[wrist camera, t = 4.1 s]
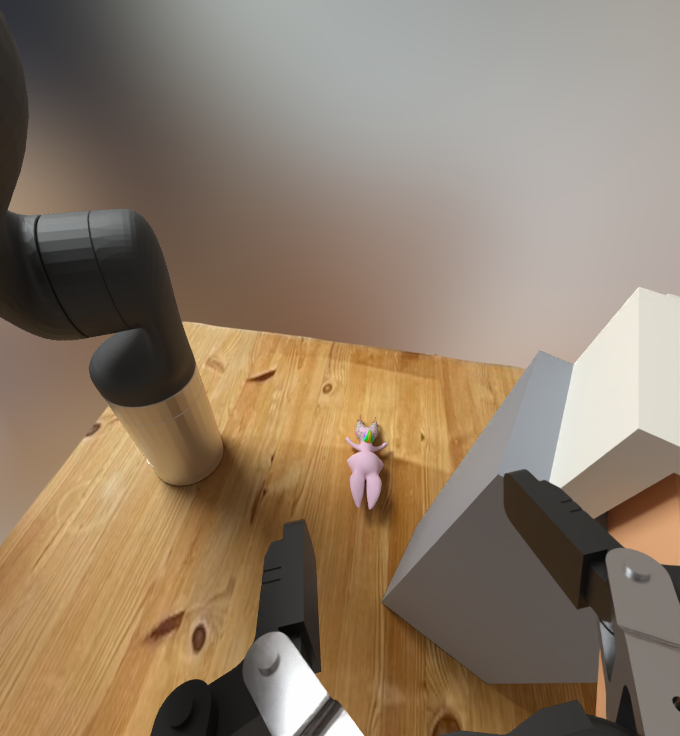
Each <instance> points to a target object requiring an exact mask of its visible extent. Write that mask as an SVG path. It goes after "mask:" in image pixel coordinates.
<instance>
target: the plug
mask: <svg viewBox="0 0 680 736" xmlns="http://www.w3.org/2000/svg"><path fill="white" fill-rule="evenodd" d="M666 296H670V297H673V298H676V299H679V300H680V297H679V296H676V295H672V294H667V295H666ZM607 532H608V533H609V534H610V535H611V536H612V537H613V538H615V539H616V540H617V541H618V542H619V543H620V544H621V545H622V546H623V547H624V548H628V549H633V550H637V551H639V552H642V553H644V554H646V555H648V556H650V557H652V558H653V559H655V560H656V561H657V562H659V563H660V564H664V565H676V566H680V475H678V474H676V473H672V474H670V475H669V476H667V477H665V478H664V479H662V480H660V481H658V482H657V483H655V484H653V485H651V486H650V487H648V488H646V489H645V490H643V491H641V492H639V493H638V494H636V495H634V496H632V497H631V498H629V499H627V500H625V501H624V502H622V503H620V504H619V505H617V506H615V507H613V508H612V509H610V510H608V520H607ZM596 716H597V717H601V718H604V719H606V690H605V681H604V674H603V666H602V659H601V651H600V653H599V669H598V686H597V702H596Z"/></svg>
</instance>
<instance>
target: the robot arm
mask: <svg viewBox="0 0 680 736" xmlns="http://www.w3.org/2000/svg"><path fill="white" fill-rule="evenodd" d="M28 118H29V112H28V97H27V90H26V83H25V76H24V71H23V67H22V61H21V58H20V55H19V52H18V49H17V46H16V44H15V41H14V39H13V36H12V34H11V31H10V29H9V27H8V24H7V22H6V20H5V18H4V15H3V14H2V12H1V10H0V317H1V318H3V319H5V320H6V321H8V322H10V323H12V324H13V325H15V326H17V327H19V328H21V329H23V330H25V331H27V332H29V333H31V334H34V335H37V336H39V337H42V338H46V339H51V340H78V339H84V338H89V337H95V336H101V335H106V334H112V333H116V334H115V335H113V336H112V337H110V338H109V339H107V340H106V341H105V342H104V343H102V344H101V345H100V346H99V348H98V349H97V350H96V351H95V353H94V354H93V356H92V358H91V361H90V364H89V372H90V377H91V380H92V382H93V383H94V385H95V387H96V388H97V390H98V391H99V392H100V394H101V395H102V396H103V398H104V399H105V401H106V402H107V404H108V405H109V407H110V408H111V409H112V411H113V412H114V414H115V415H116V416H117V418H118V419H119V421H120V422H121V423H122V425H123V426H124V428H125V429H126V431H127V432H128V434H129V435H130V436H131V438H132V439H133V441H134V442H135V444H136V445H137V446H138V448H139V449H140V451H141V452H142V454H143V455H144V456H145V458H146V459H147V461H148V462H149V464H150V465H151V467H152V468H153V469H154V471H155V472H156V474H157V475H158V477H159V478H160V479H162V480H163V481H164V482H166V483H168V484H171V485H176V486H184V485H190V484H193V483H196V482H199V481H201V480H202V479H204V478H206V477H207V476H208V475H210V474H211V473H212V472H213V471H214V470H215V469H216V468H217V466H218V465H219V463H220V461H221V459H222V456H223V450H224V447H223V442H222V439H221V436H220V433H219V430H218V426H217V424H216V421H215V418H214V415H213V412H212V409H211V406H210V403H209V400H208V397H207V394H206V391H205V388H204V385H203V382H202V379H201V376H200V374H199V371H198V368H197V365H196V362H195V359H194V356H193V353H192V350H191V348H190V345H189V342H188V339H187V336H186V334H185V331H184V328H183V325H182V322H181V319H180V315H179V312H178V308H177V304H176V300H175V297H174V292H173V289H172V285H171V281H170V277H169V273H168V269H167V266H166V262H165V259H164V256H163V252H162V250H161V247H160V245H159V242H158V240H157V237H156V235H155V233H154V231H153V229H152V228H151V226H150V225H149V224H148V222H147V221H146V220H145V219H144V217H142V216H141V215H140V214H139V213H137V212H135V211H133V210H130V209H112V210H96V211H83V212H71V213H58V214H45V215H34V216H33V215H32V216H31V215H30V216H27V215H20V214H16V213H13V212H10V211H8V210H7V209H8V207H9V204H10V201H11V198H12V195H13V192H14V189H15V186H16V183H17V180H18V177H19V174H20V171H21V167H22V163H23V158H24V154H25V148H26V139H27V129H28ZM117 332H118V333H117ZM503 490H504V509H505V512H506V515H507V517H508V519H509V520H510V522H511V523H512V525H513V526H514V527H515V529H516V530H517V531H518V533H519V534H520V535H521V537H522V538H523V539H524V540H525V542H526V543H527V544H528V546H529V547H530V548H531V550H532V551H533V552H534V554H535V555H536V556H537V558H538V559H539V560H540V562H541V563H542V564H543V565H544V567H545V568H546V569H547V571H548V572H549V573H550V575H551V576H552V577H553V579H554V580H555V581H556V583H557V584H558V585H559V587H560V588H561V589H562V590H563V592H564V593H565V594H566V596H567V597H568V598H569V600H570V601H571V602H572V604H573V605H574V606H575V608H576V609H577V610H578V609H582V608H586V607H591V608H592V609H593V610H594V612H595V613H596V614H597V629H598V637H599V644H600V651H601V659H602V666H603V674H604V681H605V690H606V719H604V718H601V717H597V716H593V715H586V713H585V711H584V710H583V708H582V707H581V705H580V703H579V702H578V700H575V701H571V702H567V703H563V704H559V705H555V706H551V707H548V708H544V709H540V710H538V711H537V712H536V713H534V714H533V715H532V716H530V717H529V718H528V719H527V720H525V721H524V722H523V723H521V724H520V725H519V726H517V727H516V728H515V729H514V730H512V731H511V732H510V733H508V734H505V735H498V734H489V733H479V732H470V731H460V730H459V731H455V732H451V733H448V734H444V735H440V736H680V566H676V565H664V564H660V563H659V562H657V561H656V560H655V559H653V558H652V557H650V556H648V555H646V554H644V553H642V552H639V551H637V550H633V549H628V548H624V547H623V546H622V545H621V544H620V543H619V542H618V541H617V540H616V539H615V538H613V537H612V536H611V535H610V534H609V533H608V532H607V531H606V530H605V529H604V528H603V527H602V526H601V525H599V524H598V523H597V522H596V521H595V520H594V519H593V518H592V517H591V516H590V515H589V514H588V513H587V512H586V511H583V510H582V508H581V507H580V506H579V505H578V504H577V503H576V502H575V501H574V502H573V500H572V498H571V497H569V496H568V495H567V494H566V493H565V492H564V491H563V490H562V489H561V488H559V487H557V486H556V485H554V484H552V483H550V482H548V481H546V480H542V481H538V480H537V479H536V478H535V477H534V476H533V475H532V474H531V473H530V472H529V471H528V470H526V469H522V470H518V471H513V472H509V473H505V474H504V478H503ZM319 672H321V659H320V639H319V618H318V597H317V576H316V561H315V555H314V550H313V546H312V542H311V539H310V535H309V532H308V529H307V525H306V522H305V519H301V520H297V521H292V522H288V523H285V524H284V529H283V540H279V541H275V542H272V543H271V545H270V547H269V549H268V551H267V553H266V555H265V559H264V567H263V576H262V586H261V593H260V602H259V611H258V620H257V628H256V635H255V639H254V642H253V644H252V646H251V647H250V648H249V650H248V652H247V654H246V656H245V658H244V659H243V660H242V662H241V663H240V664H239V665H238V666H236V667H235V668H234V669H232V670H231V671H230V672H228V673H226V674H225V675H223V676H222V677H220V678H219V679H217V680H215V681H214V682H212V683H211V684H209V685H207V684H206V683H205V682H204V681H202V680H199V679H194V680H189V681H187V682H185V683H183V684H181V685H180V686H178V687H177V688H176V689H175V690H174V691H173V692H172V693H171V694H170V695H169V696H168V697H167V698H166V700H165V701H164V703H163V704H162V706H161V708H160V709H159V711H158V714H157V716H156V719H155V722H154V725H153V728H152V732H151V735H150V736H364V735H363V734H362V733H361V731H360V730H359V729H358V727H357V726H356V724H355V723H354V722H353V720H352V719H351V717H350V716H349V715H348V713H347V712H346V711H345V709H344V708H343V707H342V705H341V704H340V703H339V702H338V701H337V700H333V699H332V698H331V697H330V695H329V694H328V693H327V691H326V690H325V688H324V687H323V686H322V684H321V683H320V681H319V680H318V679H317V677H316V676H315V673H319Z"/></svg>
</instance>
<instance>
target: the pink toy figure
mask: <svg viewBox="0 0 680 736" xmlns="http://www.w3.org/2000/svg"><path fill="white" fill-rule="evenodd" d="M356 421H358V423H357V425H356V428H355V434H356V436H357V438H358V439H359V440H360V442H361V444H359V445H357V444H354V443H353V442H352V441H351V440H350V439H349V438H346V441H347V442H348V443H349V444H350V445H351V446H352V447H354V448H355V449H357V450H359V451H360V452H358V453H356V454H354V455H353V456H351V457H350V458H349V459H348V460H347V463H348V465H349V467H350V469H351V471H352V473H353V474H352V475H351V477H350V487H351V492H352V496H353V499H354V502H355V504H356V506H357V507H358V508H360V506H361V502H362V499H363V494H364V483H365V480H367V500H368V507H369V510H371V509H372V508H373V507H374V505H375V504H376V502H377V500H378V498H379V496H380V492H381V487H382V482H381V479H380V477H379V476H378V475H379V473H380V472H381V470H382V469H383V467H384V464H383V462H382V461H381V460H380V459H379V458H378V456H377V455H375V454H374V453H372V452H376V451H379V450H381V449H383V448H384V447H386V446H387V443H386V442H385V443H383V444H382V445H381V446H378V447H374V446H373V445H372V442H373V441H374V440H375V439H376V438H377V436H378V428H377V422H376V416H375V418H374V420H373V421H372V422H371V423H373V424H372V425H371V426H370V427H365V426H364V425H363V423H362V421H361V418H360V416H359V418H358V419H357V420H356Z"/></svg>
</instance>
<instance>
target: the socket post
mask: <svg viewBox="0 0 680 736" xmlns="http://www.w3.org/2000/svg"><path fill="white" fill-rule="evenodd" d="M522 469H526V470H528V471H529V472H530V473H531V474H532V475H533V476H534V477H535V478H536V479H537V480H538V481H542V480H546V481H548V482H550V483H552V484H554V485H556V486H557V487H559V488H561V489H562V490H563V491H564V492H565V493H566V494H567V495H568V496H569V497H571V498H572V500H573V502H574V501H575V502H576V503H577V504H578V505H579V506H580V507H581V508H582V510H583V511H586V512H587V513H588V514H589V515H590V516H591V517H592V518H593V519H594V520H595V521H596V522H597V523H598V524H599V525H601V526H602V527H603V528H604V529H605V530H606V531H607V520H608V510H610V509H612V508H613V507H615V506H617V505H619V504H620V503H622V502H624V501H625V500H627V499H629V498H631V497H632V496H634V495H636V494H638V493H639V492H641V491H643V490H645V489H646V488H648V487H650V486H651V485H653V484H655V483H657V482H658V481H660V480H662V479H664V478H665V477H667V476H669V475H670V474H672V473H676V474H678V475H680V300H679V299H676V298H673V297H670V296H666V295H663V294H660V293H657V292H654V291H651V290H647V289H644V288H641V287H638V288H637V290H636V291H635V292H634V293H633V294H632V295H631V297H630V298H629V299H628V300H627V301H626V303H625V304H624V305H623V306H622V307H621V309H620V310H619V311H618V312H617V313H616V315H615V316H614V317H613V318H612V319H611V320H610V322H609V323H608V324H607V326H605V328H604V329H603V330H602V331H601V332H600V334H599V335H598V336H597V337H596V338H595V340H594V341H593V342H592V343H591V344H590V346H589V347H588V348H587V349H586V350H585V352H584V353H583V354H582V355H581V356H580V358H579V359H578V360H577V361H576V362H575V364H572V363H569V362H567V361H564V360H562V359H559V358H557V357H554V356H552V355H550V354H547V353H545V352H542V351H539V352H538V353H537V355H536V356H535V358H534V359H533V360H532V362H531V363H530V365H529V366H528V367H527V369H526V370H525V372H524V373H523V375H522V376H521V377H520V379H519V380H518V382H517V383H516V385H515V386H514V387H513V389H512V390H511V392H510V393H509V395H508V396H507V397H506V399H505V400H504V402H503V403H502V405H501V406H500V407H499V409H498V410H497V412H496V413H495V415H494V416H493V417H492V419H491V420H490V422H489V423H488V425H487V426H486V427H485V429H484V430H483V432H482V433H481V435H480V436H479V437H478V439H477V440H476V442H475V443H474V445H473V446H472V447H471V449H470V450H469V452H468V453H467V455H466V456H465V457H464V459H463V460H462V462H461V463H460V465H459V466H458V467H457V469H456V470H455V472H454V473H453V475H452V476H451V477H450V479H449V480H448V482H447V483H446V485H445V486H444V488H443V489H442V490H441V492H440V493H439V495H438V496H437V498H436V499H435V500H434V502H433V503H432V505H431V506H430V508H429V509H428V510H427V512H426V513H425V515H424V516H423V518H422V519H421V520H420V522H419V523H418V525H417V527H416V529H415V531H414V533H413V535H412V538H411V540H410V542H409V544H408V546H407V548H406V550H405V552H404V555H403V557H402V559H401V561H400V563H399V565H398V567H397V569H396V572H395V574H394V576H393V578H392V580H391V582H390V584H389V587H388V589H387V591H386V593H385V595H384V597H383V599H382V601H381V602H382V603H383V604H384V605H385V606H387V607H388V608H389V609H391V610H392V611H393V612H394V613H396V614H397V615H398V616H400V617H401V618H402V619H404V620H405V621H406V622H407V623H409V624H410V625H411V626H413V627H414V628H415V629H417V630H418V631H419V632H420V633H422V634H423V635H424V636H426V637H427V638H428V639H430V640H431V641H432V642H433V643H435V644H436V645H437V646H439V647H440V648H441V649H443V650H444V651H445V652H446V653H448V654H449V655H450V656H452V657H453V658H454V659H455V660H457V661H458V662H459V663H461V664H462V665H463V666H465V667H466V668H467V669H468V670H470V671H471V672H472V673H474V674H475V675H476V676H478V677H479V678H480V679H481V680H483V681H484V682H485V683H487V684H522V683H598V669H599V653H600V644H599V637H598V629H597V614H596V613H595V612H594V610H593V609H592V608H591V607H586V608H582V609H578V610H577V609H576V608H575V606H574V605H573V604H572V602H571V601H570V600H569V598H568V597H567V596H566V594H565V593H564V592H563V590H562V589H561V588H560V587H559V585H558V584H557V583H556V581H555V580H554V579H553V577H552V576H551V575H550V573H549V572H548V571H547V569H546V568H545V567H544V565H543V564H542V563H541V562H540V560H539V559H538V558H537V556H536V555H535V554H534V552H533V551H532V550H531V548H530V547H529V546H528V544H527V543H526V542H525V540H524V539H523V538H522V537H521V535H520V534H519V533H518V531H517V530H516V529H515V527H514V526H513V525H512V523H511V522H510V520H509V519H508V517H507V515H506V512H505V509H504V490H503V478H504V474H505V473H509V472H513V471H518V470H522Z"/></svg>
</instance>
